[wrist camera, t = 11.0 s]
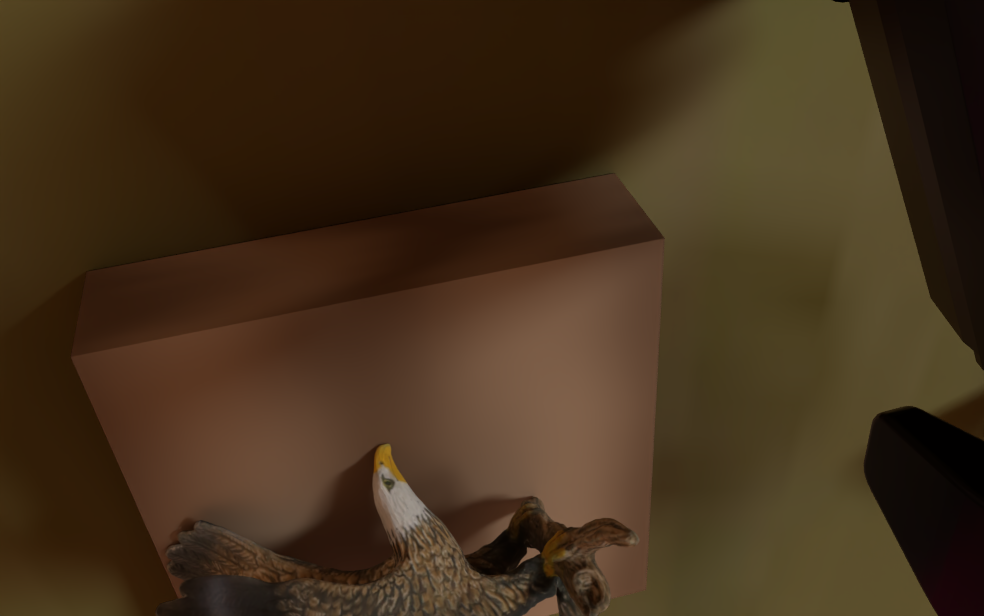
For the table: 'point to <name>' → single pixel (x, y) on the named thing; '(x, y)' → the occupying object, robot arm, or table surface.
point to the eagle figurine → (401, 567)
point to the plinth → (391, 376)
